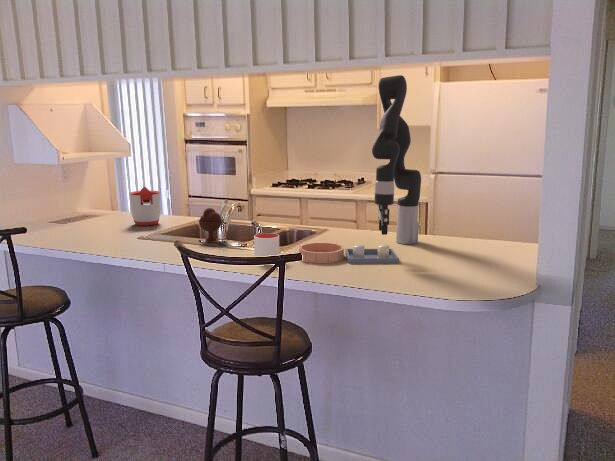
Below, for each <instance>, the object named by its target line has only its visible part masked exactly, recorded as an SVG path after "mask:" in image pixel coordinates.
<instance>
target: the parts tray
mask: <svg viewBox="0 0 615 461" xmlns="http://www.w3.org/2000/svg"><path fill="white" fill-rule="evenodd" d="M344 254H345V257H346V261H347V264H399V257H398V255H397V253H395V251H394V249H393V248H389V258H377V256H378V248H364V258H353V248H344Z"/></svg>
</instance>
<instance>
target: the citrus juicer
mask: <svg viewBox="0 0 615 461" xmlns="http://www.w3.org/2000/svg"><path fill="white" fill-rule="evenodd" d="M129 199H130V212H131V217H132V220H133V222H134V224H135V225H136V226H139V227H143V226H156V225H157V224H158V223H159V221H160V217H161V192H160V191H159V190H150V189H148V187H146V186H143V187H142V188H141V189H140V190H136V191H131V192H129Z"/></svg>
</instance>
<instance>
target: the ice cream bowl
mask: <svg viewBox="0 0 615 461" xmlns="http://www.w3.org/2000/svg"><path fill="white" fill-rule="evenodd" d="M222 224H223V219H222V218H221V215H220V213H218V212H217V211H216V210H215V209H214V208H211V207H209V208H206V209H204V210H203V215H201V216H200V217H199V220H198V225H199V227H200V228H201V229H202V230H203V231H205V232H208V234H209V235H208V237H207V238H205V242H209V243H212V242H217V241H218V239H217V237H215V236H214V233H215V232H216V231H218V230H219V229H220V228H221V226H222Z"/></svg>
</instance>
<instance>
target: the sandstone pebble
mask: <svg viewBox="0 0 615 461" xmlns="http://www.w3.org/2000/svg"><path fill="white" fill-rule="evenodd" d="M377 249H378V256H377V258H389V249H390V245H388V244H378V245H377Z"/></svg>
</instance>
